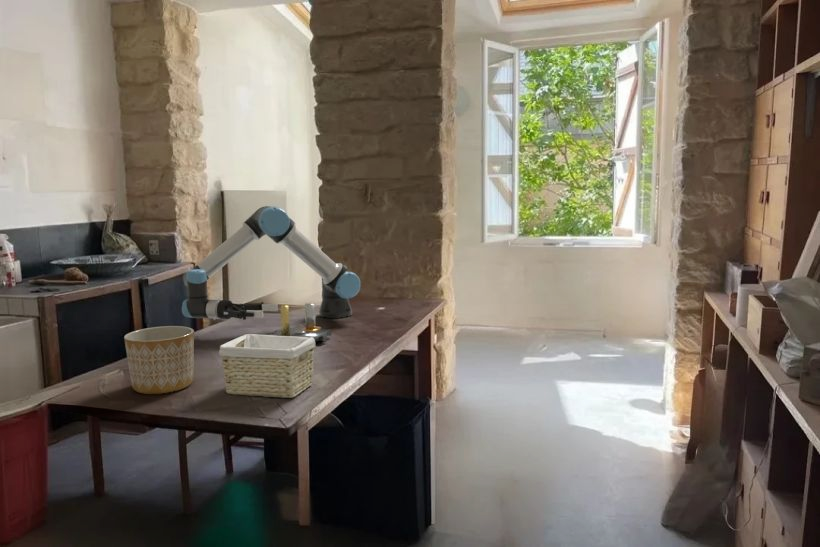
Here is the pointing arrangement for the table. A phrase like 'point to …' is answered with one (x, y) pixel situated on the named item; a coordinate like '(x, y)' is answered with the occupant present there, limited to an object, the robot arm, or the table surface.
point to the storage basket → (268, 365)
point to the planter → (160, 358)
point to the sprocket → (299, 328)
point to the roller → (310, 316)
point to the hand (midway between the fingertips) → (270, 311)
